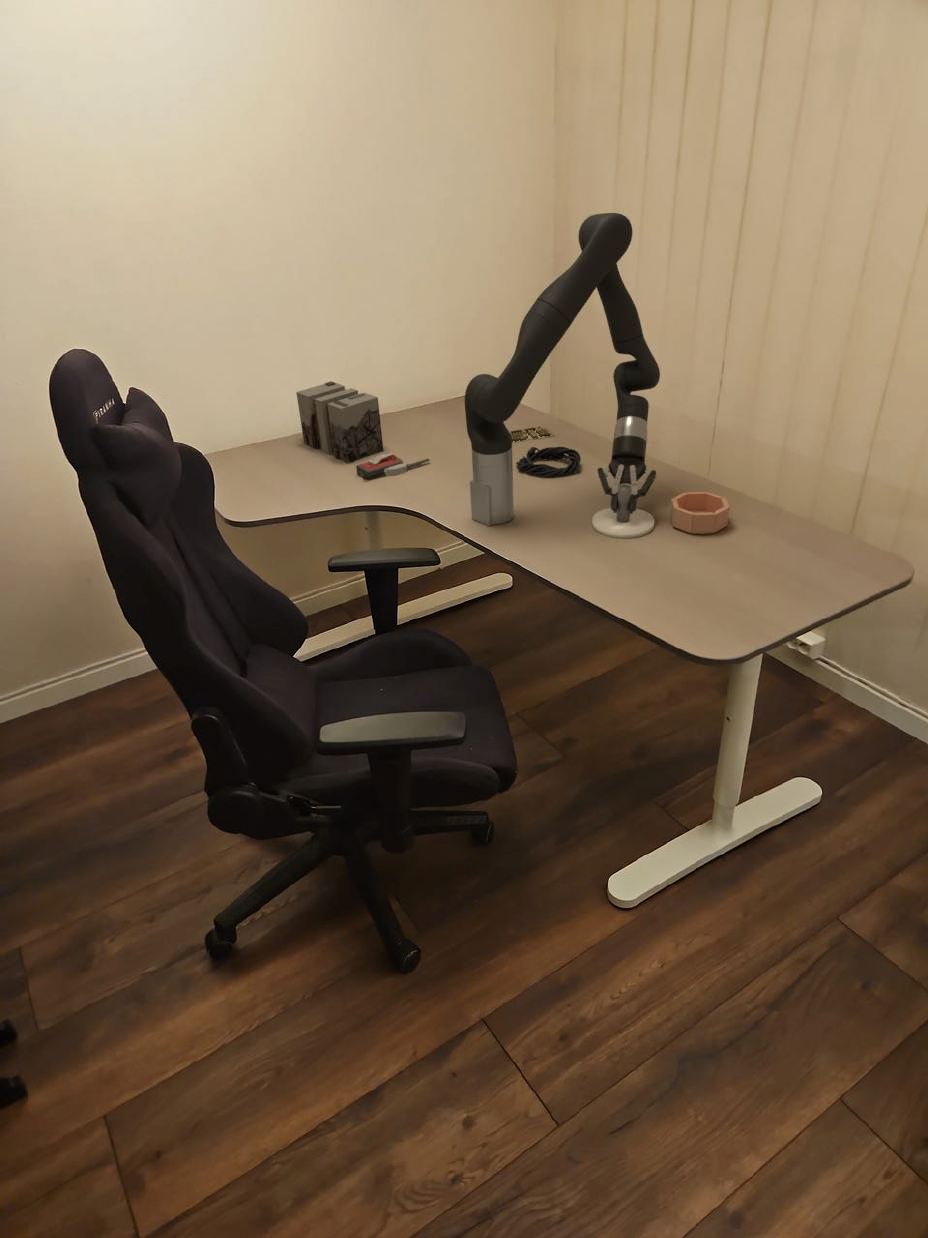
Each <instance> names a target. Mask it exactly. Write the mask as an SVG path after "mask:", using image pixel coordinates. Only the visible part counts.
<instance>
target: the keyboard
mask: <svg viewBox="0 0 928 1238" xmlns="http://www.w3.org/2000/svg"><path fill="white" fill-rule="evenodd" d="M538 428H541V426H537V428H536V427H535V426H533V427H528V428H524V431H523V430H522V429H513V430H511V431H510V434H511V437H512V442H513V441H515V442H514V443H518V442H517V441H519V440H520V441H521V440H526V439H527V438H528V436H527V435H526V434H527V433H528V435H530V436H531V437H532V438H533V439H534V438H538V436H537V434H536V433H538V434H539V436H540V437H542V436H545V437H546V436H550V435H552V434H553V433H552V432H551V431H550V430H549V429H548V427H544V428H541V429H538ZM542 429H543V430H542ZM535 430H536V433H535V432H534V431H535ZM551 433H552V434H551ZM546 438H547V437H546ZM534 440H535V439H534ZM521 442H522V441H521Z"/></svg>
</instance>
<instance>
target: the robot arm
mask: <svg viewBox="0 0 928 1238" xmlns="http://www.w3.org/2000/svg"><path fill="white" fill-rule="evenodd" d="M632 226H633V225H632V224H631V221H630V219H629V218H628V217H627V216H625V215H624V214H622V213H618V212H606V213H605V212H604V213H597V214H591V215H589V216H588V217H586V218H584V220H583V222H582V223H581V225H580V227H579V230H578V243H579V247H580V250H581V253H580V255H579V256H578V257H577V258H576V260H575V261H574V262H573V263H572V265H570V266H569V268H568V269H566V270H565V271H564V272H563V273H561V275H559V276H558V277H557V278H556V279H555V280H553V281H552V283H550V284H549V285H548V286H547V287H546V288H545V289H544V290H543V291H542V292H541V293H540V294H539V295H538V296H537V298H536V300H535V301H534V302H533V304H532V305H531V307H530V308H529V310H528V311H527V312H526V314H525V316H524V317H523V319H522V321H521V324H520V328H519V332H518V335H517V337H518V338H517V343H516V347H515V350H514V353H513V355H512V357H511V359H510V361H509V363H508V364H507V365H506V366H505V368H504V370H503V371H502V372H501V373H500V375H498V377H496V376H493V375H492V374H489V373H481V374H478V375H475V376H474V377H473V378H472V379H471V380H470V381H469V383H468V384H467V387H466V389H465V392H464V393H465V394H464V411H465V412H464V413H465V421H466V422H465V423H466V432H467V435H468V438H469V440H470V443H471V444H470V445H471V460H472V461H471V463H472V465H471V466H472V480H470V482H469V487H470V488H469V489H470V491H469V492H470V493H469V494H470V509H471V519H473V520H474V521H477V522H479V523H481V524H483V525H486V526H488V527H489V526H492V525H498V524H504V523H507V522H509V521H511V520H512V519H513V518H514V515H515V514H514V513H515V511H514V510H515V509H514V508H515V507H514V481H513V480H514V476H513V475H514V474H513V473H514V472H513V470H514V469H513V466H514V465H513V443H512V437H511V431H509V430H508V428H507V426H506V424H505V423H504V422H505V421H507V420H509V419H510V418H511V417H512V416H513V414H514V413H515V412H516V410H517V409H518V407H519V405H520V404H521V403H522V400H523V398H524V397H525V394H526V392H528V389H529V388H530V386H531V384H532V382H533V381H534V379H535V377H536V376H537V374H538V373H539V371H540V369H541V368H542V367H543V365H544V364H545V362H546V360H547V359H548V357H549V356H550V355H551V353H552V352H553V351H554V349H555V348H556V346H557V345H558V343H559V342H560V341H561V340H562V338H563V337H564V336H565V334H566V332H567V331H568V330H569V328H570V327H571V325H572V324H573V322H574V321H575V320H576V318H577V316H578V315H579V313H580V312H581V310H582V309H583V308H584V306H585V305H586V303H587V302H588V301H589V299H590V297H591V296H592V295H593V293H594V291H595V290H597V292H598V293H597V294H598V295H599V297H600V301H601V304H602V307H603V311H604V313H605V317H606V321H607V326H608V330H609V334H610V337H611V342H612V346H613V349H614V351H615V353H617V354H620V355H627V356H628V355H629V356H632V357H633V359H635V360H628V361H623V362H621V363H619V364H617V365H616V367H615V369H614V371H613V376H612V377H613V383H614V384H613V385H614V387H615V393H616V401H617V412H616V421H615V425H614V427H615V428H614V431H613V441H612V442H613V443H612V449H611V450H612V453H611V460H610V462H609V463H608V466H606V467H603V468H602V467H598V468H597V469H596V470H597V476H598V478H599V481H600V483H601V486H602V489H603V492H604V494H605V495H608V496H610V497H611V498H610V508H611V510H613V513H617V499H618V486H620V485H630V486H631V498H630V508H629V514H633V511H636V508H637V503H638V498H640V497H643V498H644V497H645V496H646V495H647V494H648V492H649V490H650V488H651V487H652V486H653V483H654V481H655V480H656V478H657V470H656V469H649V468H647V465H646V463H645V462H646V452H647V442H648V421H649V407H650V404H649V401H648V399H647V398H646V397H644V396H641V395H637V394H632V393H633V392H639V391H644V390H646V391H647V390H651V389H653V388H655V387H657V385H658V383H660V377H661V372H660V371H661V370H660V367H659V364H658V363H657V360H656V358H655V357H654V354H653V353H652V352H651V349H650V347H649V346H648V343H647V342H646V339H645V336H644V333H643V328H642V324H641V320H640V315H639V312H638V309H637V306H636V304H635V302H634V300H633V298H632V296H631V294H630V293H629V291H628V289H627V287H626V285H625V284H624V281H623V280H622V276H621V274H620V271H619V267H618V262H619V261H620V260H621V259H622V257H623V256H624V255H625V253H626V252H627V251H628V249H629V247H630V245H631V242H632V240H633V227H632ZM609 473H610V474H611V476H612V478H613V479H614V482H613V486H612V487H610V486H609V482H608V480H607V478H608V476H609ZM644 474H645V477H644V478H645V481H644V483H643V484H642V486H641V488H639V489H638V483H637V482H638V481H639V480H640V479H641V478H642V476H643V475H644Z"/></svg>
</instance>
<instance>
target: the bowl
mask: <svg viewBox="0 0 928 1238" xmlns="http://www.w3.org/2000/svg"><path fill="white" fill-rule="evenodd" d="M670 501H671V503H670V504H671V505H670V515H669V518H670V521H671V525H672V527H673V528H676V529H678V530H680V531H682V532H685V533H689V534H692V535H693V534H694V535H707V534H714V533H717V532H718V531H721V530H722V529H724V528H726V527H727V526H728V524H729V513H730V505H729V503H728V501H727V498H726V497H724V496H721V495H718V494H715V493H712V492H709V491H693V492H692V491H690V492H689V491H688V492H687V491H686V492H683V493H681V494H679V495H677V496H675V497H672V498H671V500H670Z"/></svg>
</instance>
